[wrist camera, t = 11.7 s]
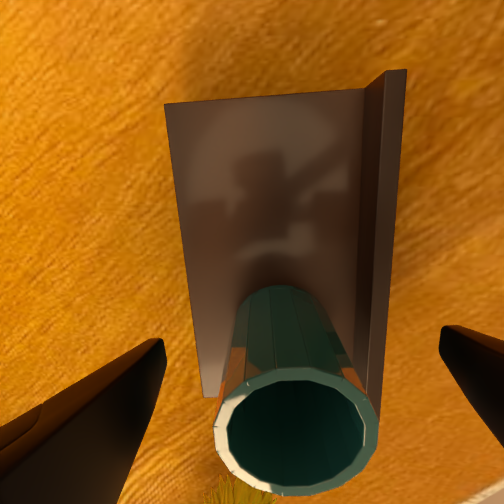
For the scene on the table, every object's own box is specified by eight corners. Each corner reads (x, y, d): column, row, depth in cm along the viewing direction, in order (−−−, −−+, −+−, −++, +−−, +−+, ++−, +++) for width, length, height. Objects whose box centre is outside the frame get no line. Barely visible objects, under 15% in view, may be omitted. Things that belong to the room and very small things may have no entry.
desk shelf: (357, 105, 18) (408, 68, 12) (348, 358, 24) (379, 423, 17) (182, 118, 19) (144, 89, 13) (212, 362, 24) (195, 428, 18)
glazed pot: (329, 282, 18) (384, 364, 10) (328, 368, 19) (373, 495, 12) (228, 286, 18) (205, 370, 10) (236, 371, 20) (221, 497, 12)
